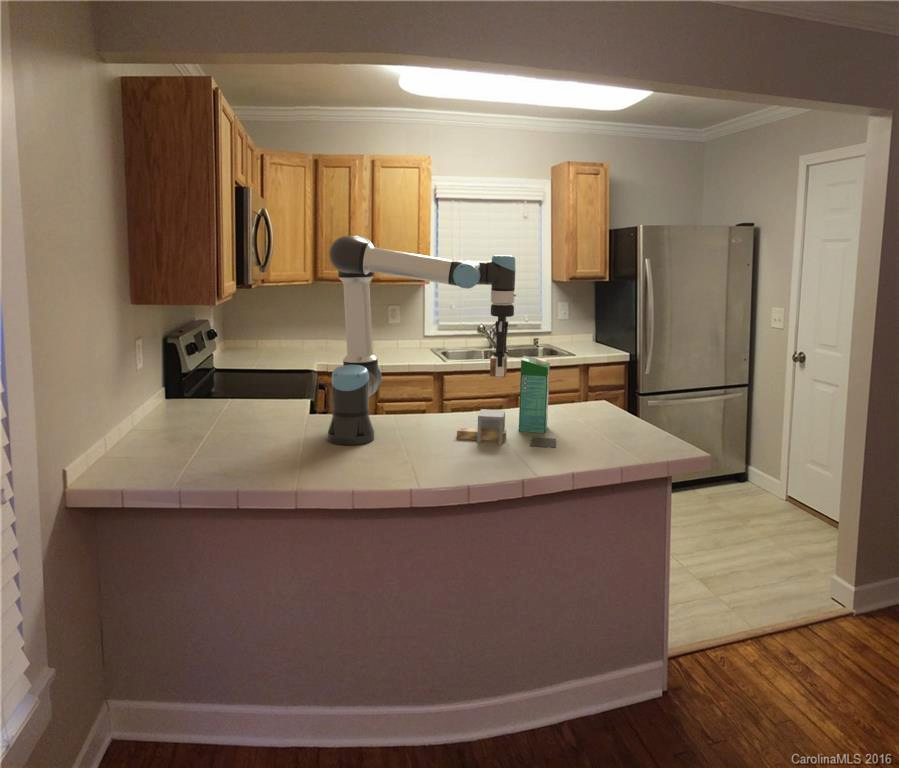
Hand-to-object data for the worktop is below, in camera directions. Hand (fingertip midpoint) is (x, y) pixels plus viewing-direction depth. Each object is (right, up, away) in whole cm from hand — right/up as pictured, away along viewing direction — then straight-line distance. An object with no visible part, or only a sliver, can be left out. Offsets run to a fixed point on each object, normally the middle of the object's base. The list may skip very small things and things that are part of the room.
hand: (500, 374), depth 236 cm
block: (-1, 0, 0) cm, 1 cm away
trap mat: (+14, -22, -4) cm, 26 cm away
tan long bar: (-6, -21, +1) cm, 22 cm away
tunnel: (-3, -21, -1) cm, 22 cm away
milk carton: (+12, -19, +12) cm, 26 cm away
